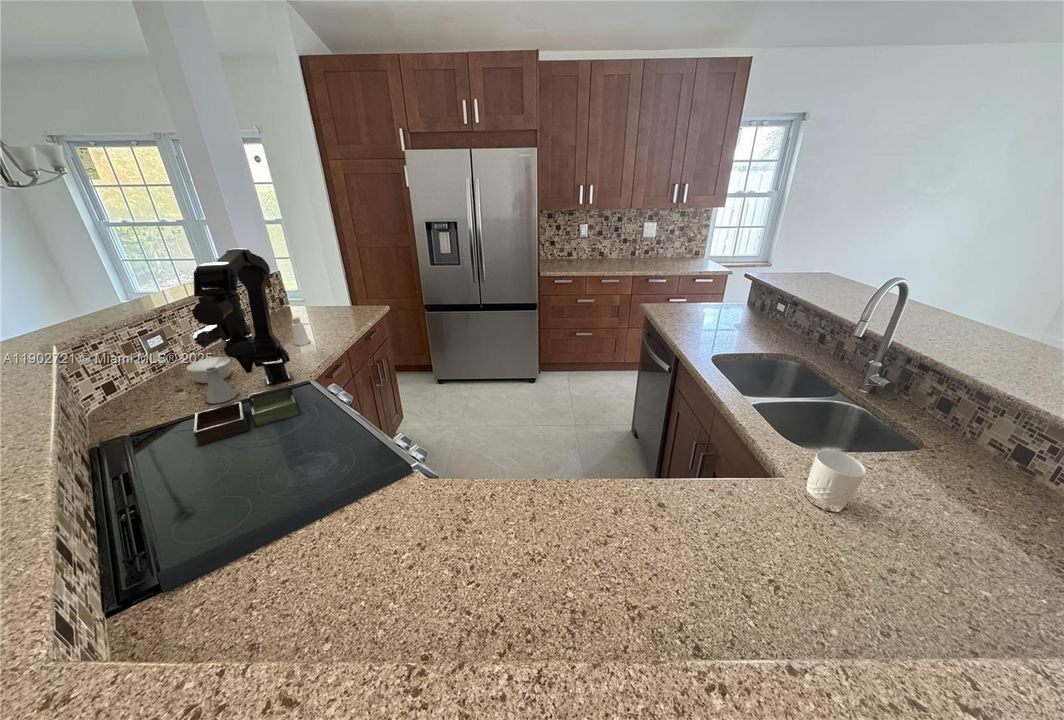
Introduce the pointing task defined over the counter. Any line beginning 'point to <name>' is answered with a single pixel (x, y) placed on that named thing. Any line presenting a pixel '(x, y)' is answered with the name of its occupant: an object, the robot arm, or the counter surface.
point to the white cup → (834, 477)
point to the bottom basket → (220, 423)
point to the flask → (218, 387)
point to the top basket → (273, 405)
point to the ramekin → (199, 367)
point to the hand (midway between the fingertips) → (248, 366)
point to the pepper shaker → (299, 332)
